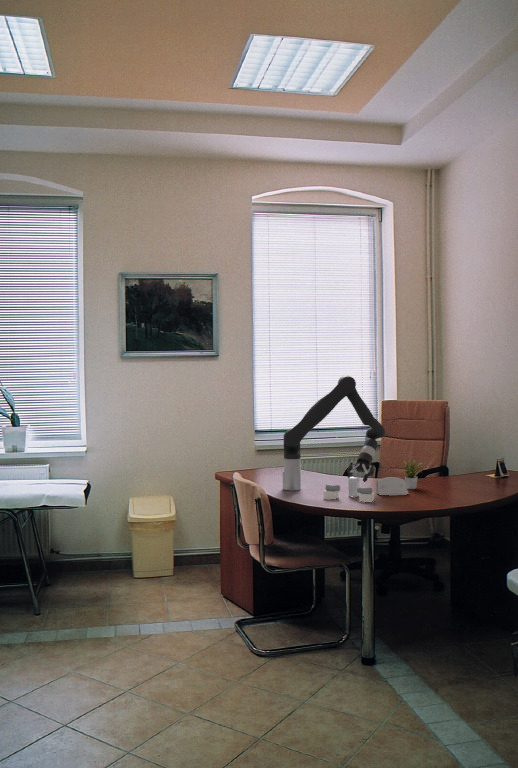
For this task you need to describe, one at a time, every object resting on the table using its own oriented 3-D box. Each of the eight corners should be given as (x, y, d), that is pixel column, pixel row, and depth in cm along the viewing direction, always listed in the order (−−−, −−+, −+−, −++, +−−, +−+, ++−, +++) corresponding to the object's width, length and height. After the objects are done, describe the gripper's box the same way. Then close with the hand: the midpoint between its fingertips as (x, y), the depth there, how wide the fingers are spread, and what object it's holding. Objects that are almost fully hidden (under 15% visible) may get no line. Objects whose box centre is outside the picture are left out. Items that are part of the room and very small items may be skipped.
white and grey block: (356, 501, 338) (356, 487, 338) (359, 499, 344) (359, 485, 343) (370, 503, 335) (370, 489, 335) (374, 500, 340) (374, 486, 340)
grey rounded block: (379, 495, 352) (376, 477, 355) (376, 497, 356) (373, 478, 359) (409, 494, 355) (406, 475, 358) (405, 495, 360) (403, 477, 363)
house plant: (425, 491, 363) (425, 461, 362) (399, 490, 365) (399, 460, 365) (424, 486, 377) (424, 457, 376) (399, 485, 379) (399, 457, 379)
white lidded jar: (323, 498, 346) (323, 485, 345) (327, 496, 351) (327, 483, 351) (337, 500, 343) (337, 486, 342) (341, 497, 348) (341, 484, 348)
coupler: (348, 496, 350) (348, 477, 350) (351, 495, 354) (351, 476, 354) (356, 497, 348) (356, 478, 348) (359, 496, 352) (359, 477, 352)
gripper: (352, 450, 364) (342, 474, 355) (376, 452, 356) (366, 477, 347) (356, 459, 369) (346, 483, 360) (380, 461, 360) (371, 486, 351)
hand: (356, 480), depth 353 cm, fingers open, 8 cm apart
